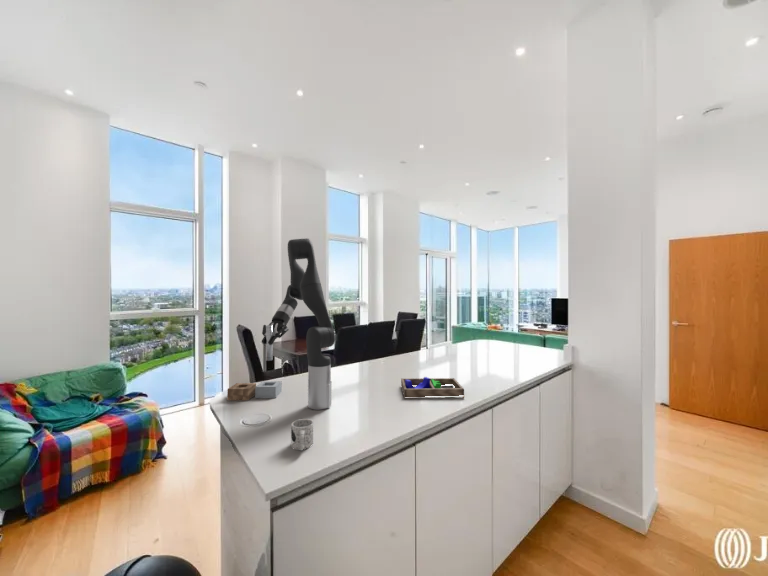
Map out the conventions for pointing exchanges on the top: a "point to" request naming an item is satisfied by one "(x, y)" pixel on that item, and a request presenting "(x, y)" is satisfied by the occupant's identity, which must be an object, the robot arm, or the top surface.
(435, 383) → the pipe clamp
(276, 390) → the socket block
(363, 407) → the top surface
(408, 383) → the cable clip
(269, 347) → the steel axle
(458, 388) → the organiser frame
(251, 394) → the wooden square frame
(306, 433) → the mug
